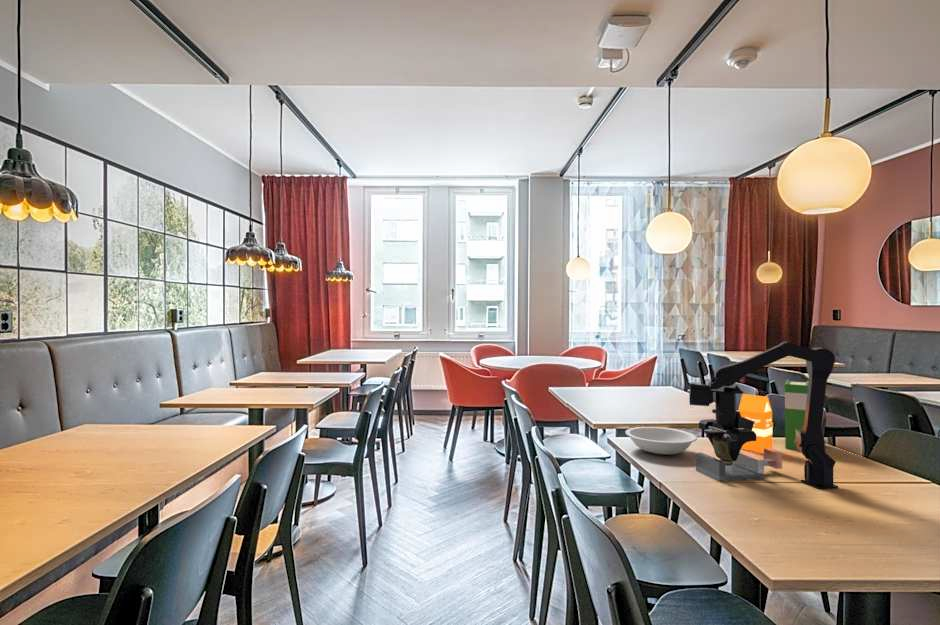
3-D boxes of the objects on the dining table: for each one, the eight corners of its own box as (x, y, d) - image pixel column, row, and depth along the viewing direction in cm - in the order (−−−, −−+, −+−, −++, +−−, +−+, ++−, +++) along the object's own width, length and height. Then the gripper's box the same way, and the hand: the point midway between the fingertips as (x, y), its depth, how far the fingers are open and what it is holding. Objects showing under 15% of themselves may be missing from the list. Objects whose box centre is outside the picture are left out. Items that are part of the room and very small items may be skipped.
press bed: (764, 478, 144) (763, 460, 144) (719, 481, 141) (719, 462, 141) (737, 467, 154) (737, 450, 155) (695, 470, 152) (695, 452, 152)
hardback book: (787, 439, 192) (786, 379, 193) (809, 441, 188) (809, 380, 189) (785, 448, 178) (784, 384, 178) (809, 451, 174) (809, 385, 174)
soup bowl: (637, 461, 161) (637, 442, 161) (617, 443, 185) (617, 426, 185) (709, 462, 160) (709, 442, 160) (680, 444, 184) (680, 427, 184)
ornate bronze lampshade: (733, 461, 151) (733, 435, 151) (744, 468, 144) (744, 441, 144) (708, 460, 152) (708, 435, 152) (718, 467, 144) (718, 441, 144)
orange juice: (746, 445, 182) (746, 392, 183) (772, 450, 176) (772, 395, 176) (738, 448, 177) (737, 394, 178) (764, 454, 171) (764, 397, 171)
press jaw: (790, 471, 145) (789, 455, 145) (758, 473, 143) (757, 456, 143) (762, 461, 156) (761, 445, 156) (732, 462, 154) (731, 447, 154)
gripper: (772, 411, 140) (773, 465, 140) (727, 401, 159) (728, 448, 158) (738, 413, 138) (739, 467, 138) (697, 402, 157) (698, 450, 156)
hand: (726, 457), depth 148 cm, fingers closed on ornate bronze lampshade, 6 cm apart
